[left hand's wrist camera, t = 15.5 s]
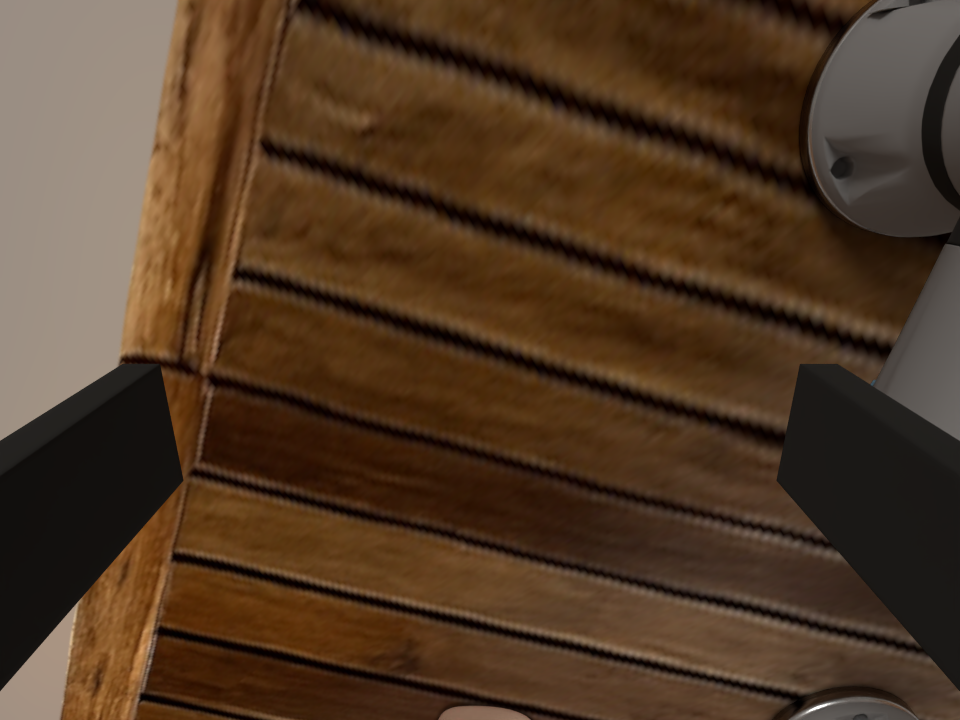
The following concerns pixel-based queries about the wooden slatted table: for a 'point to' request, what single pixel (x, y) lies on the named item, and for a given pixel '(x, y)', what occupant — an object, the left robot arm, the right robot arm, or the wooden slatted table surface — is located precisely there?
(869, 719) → the right robot arm
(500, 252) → the wooden slatted table surface
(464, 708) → the anatomical model
